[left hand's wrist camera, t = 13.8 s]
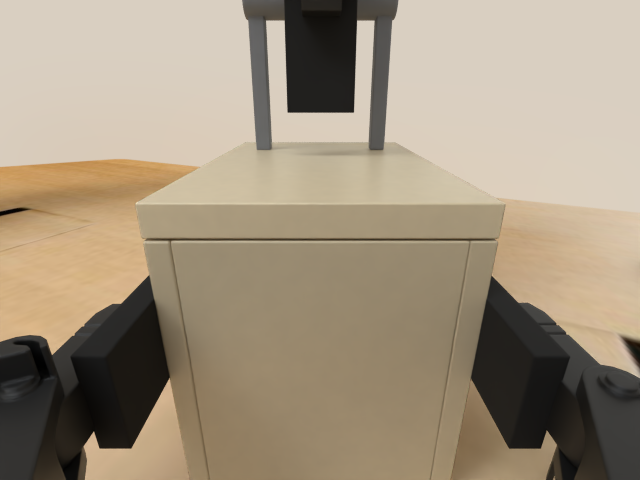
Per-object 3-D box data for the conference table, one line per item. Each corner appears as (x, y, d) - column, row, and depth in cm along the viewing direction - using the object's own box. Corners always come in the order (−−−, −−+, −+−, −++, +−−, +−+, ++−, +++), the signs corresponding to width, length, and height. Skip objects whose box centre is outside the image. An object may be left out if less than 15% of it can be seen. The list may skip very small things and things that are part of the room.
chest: (254, 303, 24) (243, 160, 21) (385, 303, 24) (396, 160, 21) (192, 496, 12) (141, 241, 9) (448, 497, 12) (499, 241, 9)
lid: (245, 158, 21) (233, 2, 18) (394, 158, 21) (406, 2, 18) (141, 239, 9) (52, -207, 6) (499, 240, 9) (588, -206, 6)
